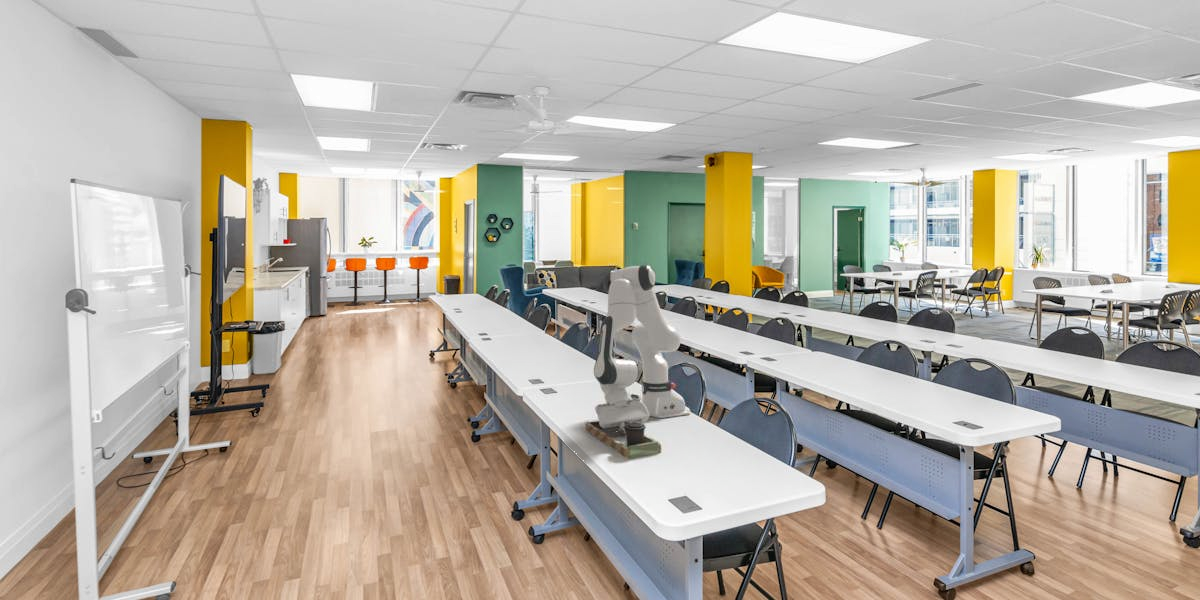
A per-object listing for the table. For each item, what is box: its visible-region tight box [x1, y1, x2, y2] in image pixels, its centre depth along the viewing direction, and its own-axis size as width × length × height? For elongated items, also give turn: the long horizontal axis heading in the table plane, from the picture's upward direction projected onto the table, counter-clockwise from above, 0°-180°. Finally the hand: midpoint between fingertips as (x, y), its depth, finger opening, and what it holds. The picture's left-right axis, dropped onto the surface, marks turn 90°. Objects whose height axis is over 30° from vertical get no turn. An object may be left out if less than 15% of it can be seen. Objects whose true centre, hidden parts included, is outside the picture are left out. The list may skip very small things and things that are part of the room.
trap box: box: [585, 420, 662, 459], centre depth 244 cm, size 36×14×4 cm, turn 25°
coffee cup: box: [624, 422, 646, 447], centre depth 232 cm, size 8×8×10 cm
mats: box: [599, 426, 626, 439], centre depth 253 cm, size 11×10×1 cm
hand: (630, 433), depth 237 cm, fingers closed, pressing on coffee cup
